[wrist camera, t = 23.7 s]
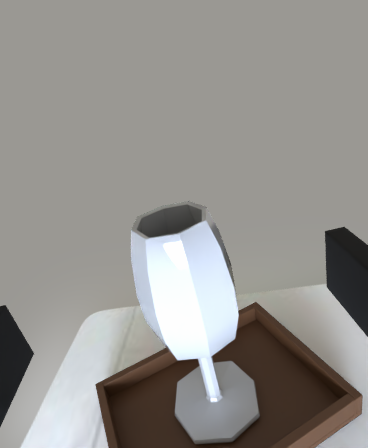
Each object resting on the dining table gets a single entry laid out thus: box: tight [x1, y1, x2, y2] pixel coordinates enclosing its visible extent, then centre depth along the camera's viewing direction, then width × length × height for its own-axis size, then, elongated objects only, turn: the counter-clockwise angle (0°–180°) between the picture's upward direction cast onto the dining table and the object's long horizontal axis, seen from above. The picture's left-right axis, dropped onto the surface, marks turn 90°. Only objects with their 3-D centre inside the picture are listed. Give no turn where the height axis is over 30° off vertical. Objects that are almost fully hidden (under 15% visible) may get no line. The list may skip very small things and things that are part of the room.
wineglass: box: [131, 201, 260, 444], centre depth 27 cm, size 9×9×21 cm
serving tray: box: [96, 302, 362, 448], centre depth 32 cm, size 22×16×3 cm
